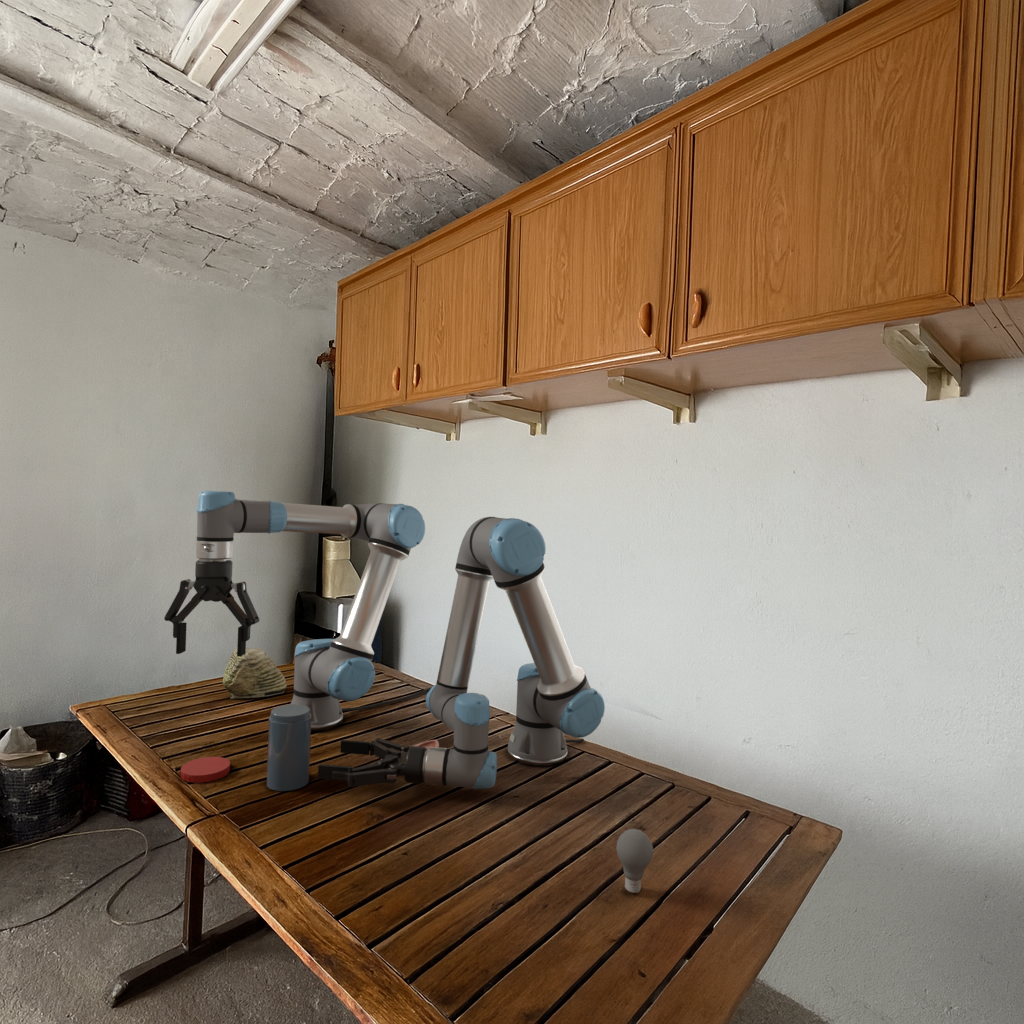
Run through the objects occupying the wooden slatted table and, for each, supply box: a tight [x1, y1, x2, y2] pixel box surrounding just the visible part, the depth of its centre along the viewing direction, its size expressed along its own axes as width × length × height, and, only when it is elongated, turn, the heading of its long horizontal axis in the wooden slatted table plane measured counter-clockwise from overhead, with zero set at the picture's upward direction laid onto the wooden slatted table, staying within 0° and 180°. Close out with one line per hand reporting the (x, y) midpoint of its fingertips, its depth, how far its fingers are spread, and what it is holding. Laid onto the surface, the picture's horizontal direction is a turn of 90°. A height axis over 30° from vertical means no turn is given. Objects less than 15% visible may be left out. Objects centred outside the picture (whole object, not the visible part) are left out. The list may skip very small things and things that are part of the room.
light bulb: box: [615, 828, 654, 894], centre depth 106 cm, size 6×6×10 cm
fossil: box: [222, 646, 288, 699], centre depth 198 cm, size 9×18×15 cm, turn 132°
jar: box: [266, 703, 312, 792], centre depth 140 cm, size 9×9×16 cm
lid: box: [179, 756, 231, 784], centre depth 143 cm, size 10×10×2 cm
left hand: (211, 653), depth 142 cm, fingers open, 13 cm apart
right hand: (330, 758), depth 139 cm, fingers open, 13 cm apart
